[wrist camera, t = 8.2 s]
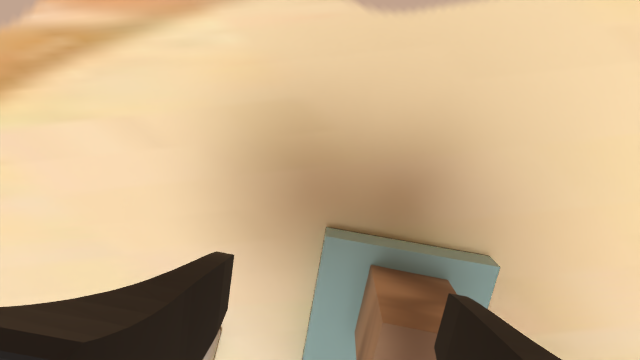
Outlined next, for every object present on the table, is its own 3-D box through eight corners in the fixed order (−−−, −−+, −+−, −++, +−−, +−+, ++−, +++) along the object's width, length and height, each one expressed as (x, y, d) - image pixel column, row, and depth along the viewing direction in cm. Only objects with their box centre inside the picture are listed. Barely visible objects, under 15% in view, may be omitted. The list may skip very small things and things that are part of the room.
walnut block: (447, 279, 20) (487, 343, 15) (428, 347, 21) (458, 429, 16) (370, 264, 20) (382, 322, 15) (354, 332, 21) (360, 410, 16)
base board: (489, 256, 21) (500, 267, 20) (448, 393, 24) (456, 412, 22) (326, 227, 22) (325, 236, 20) (300, 366, 24) (298, 383, 22)
